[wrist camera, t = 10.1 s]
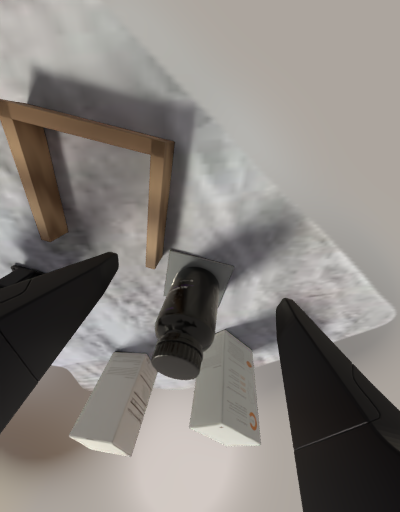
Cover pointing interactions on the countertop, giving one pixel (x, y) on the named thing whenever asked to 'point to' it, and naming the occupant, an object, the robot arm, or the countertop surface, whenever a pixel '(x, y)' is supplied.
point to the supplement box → (117, 405)
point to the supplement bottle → (186, 323)
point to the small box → (226, 394)
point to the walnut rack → (43, 178)
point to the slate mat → (183, 260)
